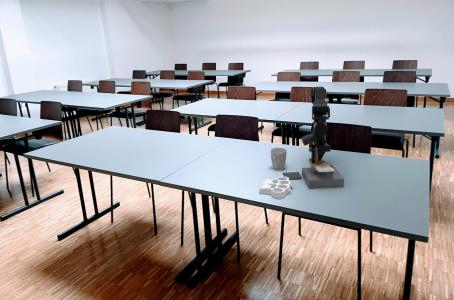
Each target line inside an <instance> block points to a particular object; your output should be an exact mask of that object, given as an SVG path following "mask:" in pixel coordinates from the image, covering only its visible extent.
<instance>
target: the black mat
mask: <svg viewBox="0 0 454 300" xmlns="http://www.w3.org/2000/svg"><path fill="white" fill-rule="evenodd" d="M282 175H283V177H288V178H289V181H290V180H291V181H292V180H293V181H294V180H295V181H296V180H302V179H303V177H302V175H301V174H300V172H299V171H289V172H282Z"/></svg>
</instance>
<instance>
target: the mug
mask: <svg viewBox="0 0 454 300" xmlns="http://www.w3.org/2000/svg"><path fill="white" fill-rule="evenodd" d="M287 155H288V154H287V149H286V148H284V147H273V148H271V149H270V159H271V164H272V168H273V169H274V170H283V169H285V167H286V161H287Z"/></svg>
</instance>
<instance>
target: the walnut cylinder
mask: <svg viewBox="0 0 454 300" xmlns="http://www.w3.org/2000/svg"><path fill="white" fill-rule="evenodd" d="M322 160H323V158H322V159H321V161H318V156H317V151H316V158H315V163H314V164H321V163H322Z"/></svg>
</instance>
